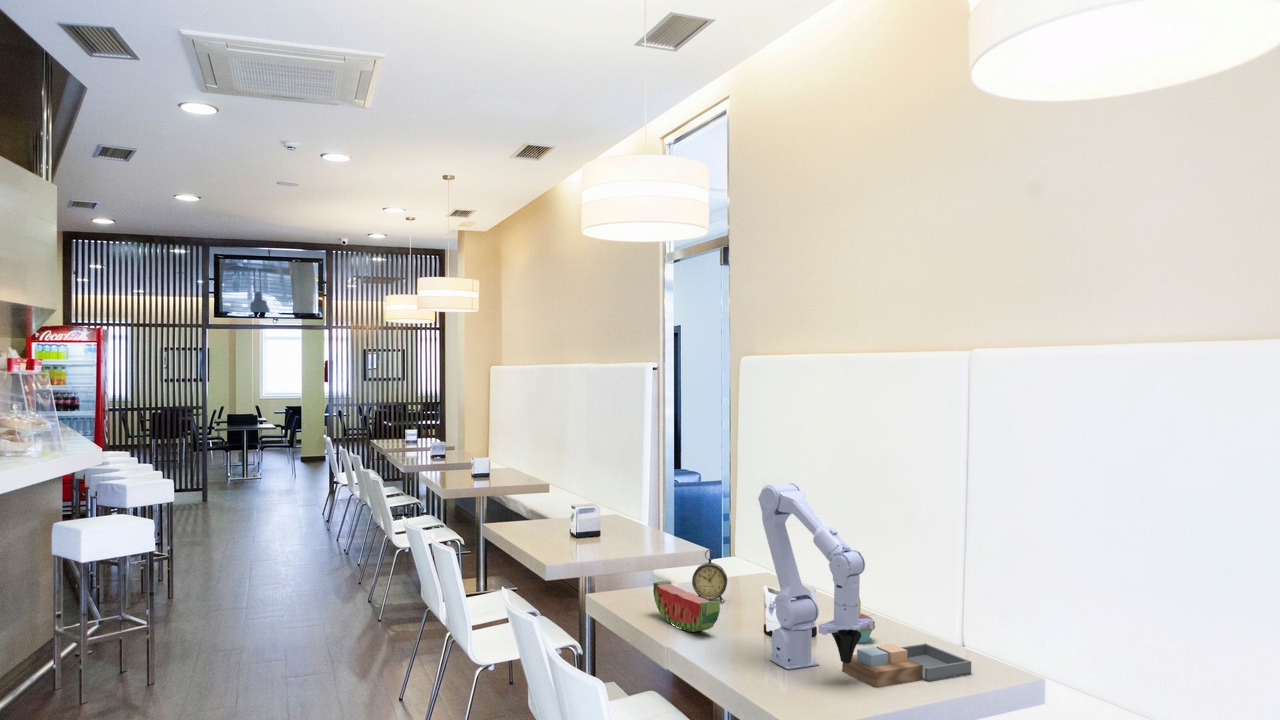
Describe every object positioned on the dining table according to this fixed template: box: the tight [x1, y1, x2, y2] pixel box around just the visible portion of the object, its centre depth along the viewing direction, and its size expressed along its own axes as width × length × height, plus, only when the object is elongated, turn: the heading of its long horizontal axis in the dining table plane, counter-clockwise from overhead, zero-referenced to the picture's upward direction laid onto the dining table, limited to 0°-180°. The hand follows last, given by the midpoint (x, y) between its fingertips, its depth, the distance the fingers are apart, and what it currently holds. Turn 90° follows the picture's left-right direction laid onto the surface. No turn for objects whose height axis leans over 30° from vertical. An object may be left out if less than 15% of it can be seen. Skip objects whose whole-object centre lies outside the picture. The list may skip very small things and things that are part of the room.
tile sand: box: [876, 643, 907, 664], centre depth 199 cm, size 5×5×3 cm
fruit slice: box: [652, 580, 721, 633], centre depth 234 cm, size 26×6×10 cm, turn 31°
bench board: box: [841, 653, 923, 688], centre depth 198 cm, size 14×12×3 cm
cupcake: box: [857, 597, 876, 644], centre depth 225 cm, size 9×8×12 cm
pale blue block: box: [856, 646, 888, 667], centre depth 196 cm, size 5×5×3 cm
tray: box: [900, 643, 972, 682], centre depth 203 cm, size 14×15×3 cm
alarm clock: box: [691, 549, 728, 601], centre depth 263 cm, size 11×5×16 cm, turn 81°
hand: (845, 662), depth 193 cm, fingers closed
